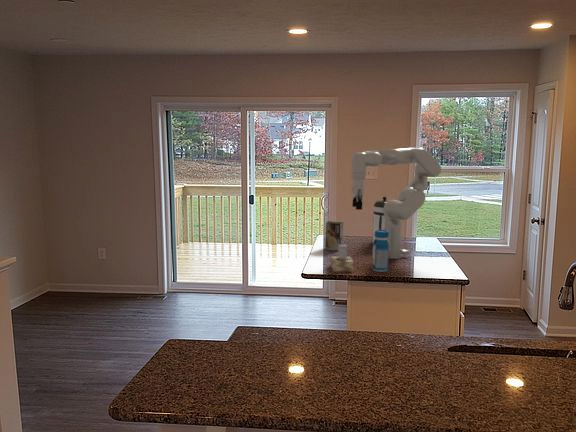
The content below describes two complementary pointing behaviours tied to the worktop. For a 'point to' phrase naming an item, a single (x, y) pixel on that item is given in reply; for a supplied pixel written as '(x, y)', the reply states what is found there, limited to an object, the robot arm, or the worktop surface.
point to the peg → (342, 252)
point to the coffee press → (378, 216)
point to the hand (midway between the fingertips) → (357, 208)
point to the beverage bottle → (380, 251)
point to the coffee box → (333, 235)
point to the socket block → (342, 264)
